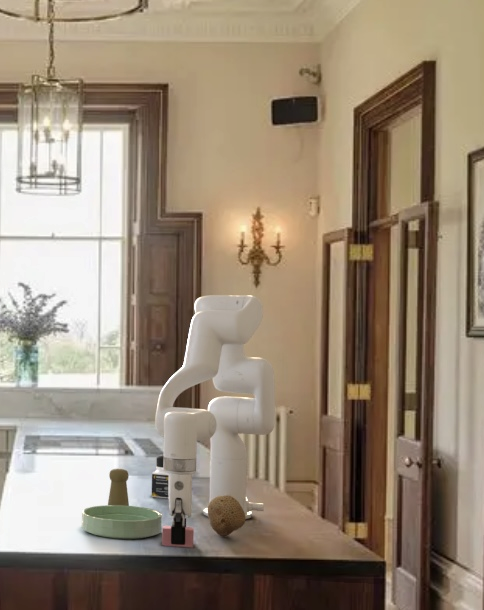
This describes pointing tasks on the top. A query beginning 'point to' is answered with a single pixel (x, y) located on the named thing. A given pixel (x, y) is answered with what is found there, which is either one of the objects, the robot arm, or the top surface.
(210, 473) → the robot arm
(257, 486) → the top surface
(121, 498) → the cork
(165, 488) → the medicine bottle
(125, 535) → the bowl
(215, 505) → the natural sponge
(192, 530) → the eraser
